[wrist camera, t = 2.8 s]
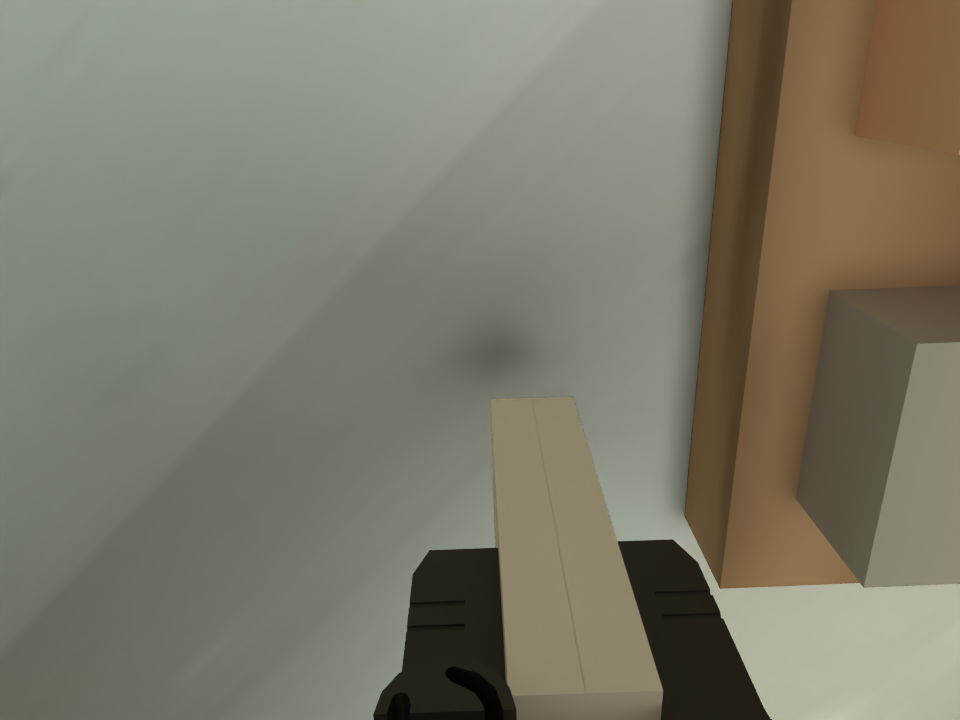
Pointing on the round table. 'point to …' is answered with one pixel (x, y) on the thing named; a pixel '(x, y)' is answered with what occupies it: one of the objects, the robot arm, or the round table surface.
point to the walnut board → (796, 272)
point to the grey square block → (888, 435)
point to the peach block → (913, 75)
